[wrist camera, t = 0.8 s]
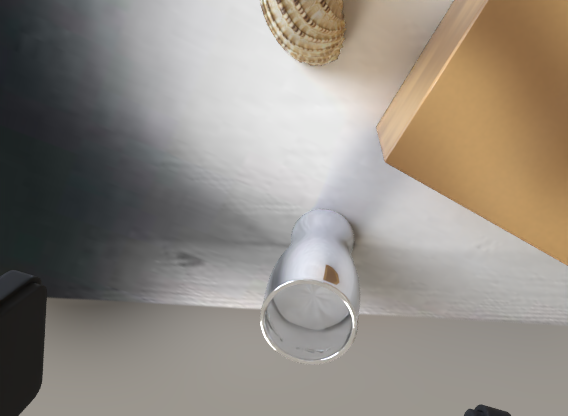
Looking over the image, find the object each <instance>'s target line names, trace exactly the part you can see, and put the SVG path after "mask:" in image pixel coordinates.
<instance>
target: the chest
mask: <svg viewBox="0 0 568 416" xmlns="http://www.w3.org/2000/svg"><path fill="white" fill-rule="evenodd" d="M484 2H485V0H454V1H453V3H452V4H451V6H450V8H449V9H448V11H447V12H446V14H445V16H444V17H443V19H442V21H441V22H440V24H439V25H438V27H437V29H436V30H435V32H434V34H433V35H432V37H431V39H430V40H429V42H428V43H427V45H426V47H425V48H424V50H423V52H422V53H421V55H420V56H419V58H418V60H417V61H416V63H415V65H414V66H413V68H412V69H411V71H410V73H409V74H408V76H407V78H406V79H405V81H404V82H403V84H402V86H401V87H400V89H399V91H398V92H397V94H396V95H395V97H394V99H393V100H392V102H391V104H390V105H389V107H388V109H387V110H386V112H385V113H384V115H383V117H382V118H381V120H380V122H379V123H378V125H377V126H376V129H377V133H378V137H379V141H380V145H381V149H382V152H383V156H384V158H385V157H386V155H387V153H388V152H389V150H390V149H391V147H392V146H393V144H394V142H395V141H396V139H397V138H398V136H399V135H400V133H401V132H402V130H403V128H404V127H405V125H406V124H407V122H408V121H409V119H410V117H411V116H412V114H413V113H414V111H415V110H416V108H417V106H418V105H419V103H420V102H421V100H422V99H423V97H424V96H425V94H426V92H427V91H428V89H429V88H430V86H431V85H432V83H433V81H434V80H435V78H436V77H437V75H438V74H439V72H440V70H441V69H442V67H443V66H444V64H445V63H446V61H447V60H448V58H449V56H450V55H451V53H452V52H453V50H454V49H455V47H456V45H457V44H458V42H459V41H460V39H461V38H462V36H463V34H464V33H465V31H466V30H467V28H468V27H469V25H470V24H471V22H472V20H473V19H474V17H475V16H476V14H477V13H478V11H479V9H480V8H481V6H482V5H483V3H484Z"/></svg>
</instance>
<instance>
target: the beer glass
mask: <svg viewBox="0 0 568 416" xmlns="http://www.w3.org/2000/svg"><path fill="white" fill-rule="evenodd" d="M353 246H354V232H353V229H352V227H351V225H350V223H349V222H348V221H347V219H346V218H345V217H343V216H342V215H341V214H339V213H337V212H335V211H333V210H329V209H315V210H311V211H309V212H307V213H305V214H304V215H302V216H301V217H300V218H299V219H298V220H297V221H296V223H295V225H294V227H293V229H292V233H291V245H290V246H289V247H288V248H287V249H286V250H285V252H284V253H283V254H282V255H281V257H280V258H279V260H278V261H277V263H276V264H275V266H274V268H273V271H272V273H271V275H270V278H269V281H268V284H267V287H266V291H265V296H264V301H263V305H262V308H261V313H260V324H261V329H262V332H263V335H264V337H265V338H266V340H267V342H268V343H269V345H270V346H271V347H272V348H273V349H274V350H275V351H276V352H277V353H279V354H280V355H282V356H283V357H285V358H287V359H289V360H291V361H294V362H297V363H301V364H309V365H315V364H323V363H327V362H330V361H333V360H335V359H337V358H339V357H340V356H342V355H343V354H344V353H345V352H346V351H347V350H348V349H349V348H350V347H351V345H352V344H353V342H354V340H355V338H356V334H357V328H358V317H359V310H360V283H359V277H358V273H357V270H356V266H355V264H354V261H353V259H352V256H351V252H352V249H353Z"/></svg>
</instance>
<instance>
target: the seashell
mask: <svg viewBox="0 0 568 416" xmlns="http://www.w3.org/2000/svg"><path fill="white" fill-rule="evenodd" d="M260 4H261V8H262V11H263V14H264V17H265V19H266V22H267V24H268V26H269V28H270V30H271V32H272V33H273V35H274V37H275V38H276V40H277V41H278V43H279V44H280V45H281V46H282V48H283V49H284V50H285V51H286V52H287V53H288V54H289V55H291V56H292V57H293V58H294V59H296V60H298V61H299V62H302V61H303V62H306V63H308V64H310V65H317V66H322V65H326V64H328V63H330V62H332V61H335V60H337V59H338V56H339V54H340V49H341V48H343V45H342V43H343V41H344V40H345V38H344V32H345V31H346V28H345V24H346V22H345V21H344V14H343V13H342V9H343V0H260Z"/></svg>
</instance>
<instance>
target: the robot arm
mask: <svg viewBox="0 0 568 416" xmlns="http://www.w3.org/2000/svg"><path fill="white" fill-rule="evenodd" d="M46 300H47V289H46V287H45V286H43V285H42V283H41V280H40V278H38V277H36V276H33V275H29V274H26V273H22V272H19V271H15V270H11V271H9V272H7V273H5V274H4V275H2V276H1V277H0V416H19V414H20V413H21V412H22V411H23V410H24V409H25V408H26V406H28V405H29V404H30V402H31V401H32V400H33V399H34V398H35V397H36V395H37V393H38V392H39V389H40V387H41V384H42V375H43V356H44V355H43V354H44V337H45V318H46ZM464 416H511V415H510V414H509V413H508V412H506V411H502V410H499V409H495V408H492V407H488V406H485V405H478V406H477V407H476V408H475V409H474V410H473V409H468V410H467V411H466V412H465V414H464Z"/></svg>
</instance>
